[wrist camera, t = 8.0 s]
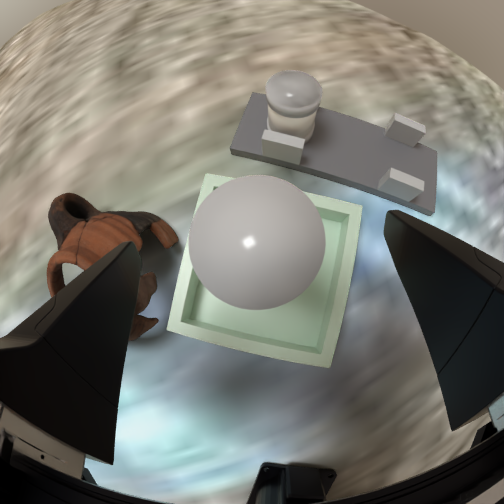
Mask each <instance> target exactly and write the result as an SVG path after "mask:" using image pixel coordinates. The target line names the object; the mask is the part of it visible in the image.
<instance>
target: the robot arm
mask: <svg viewBox="0 0 504 504" xmlns="http://www.w3.org/2000/svg"><path fill="white" fill-rule="evenodd" d="M384 237H385V240H386V243H387V245H388V248H389V251H390V253H391V256H392V259H393V262H394V265H395V267H396V270H397V272H398V275H399V277H400V279H401V281H402V284H403V286H404V288H405V290H406V293H407V295H408V297H409V300H410V302H411V304H412V307H413V309H414V312H415V314H416V317H417V319H418V322H419V324H420V327H421V329H422V332H423V335H424V338H425V340H426V343H427V346H428V349H429V352H430V355H431V358H432V361H433V364H434V367H435V370H436V373H437V377H438V380H439V384H440V387H441V391H442V394H443V398H444V402H445V406H446V410H447V414H448V418H449V423H450V427H451V430H452V431H455V430H457V429H459V428H461V427H462V426H464V425H466V424H468V423H470V422H472V421H474V420H475V419H477V418H479V417H481V416H482V415H484V414H486V413H488V412H489V415H490V418H491V422H489V423H487V424H486V425H484V426H483V427H481V428H480V429H478V430H477V433H476V436H475V438H474V441H473V443H472V446H471V448H470V450H468V451H466V452H464V453H463V454H461V455H459V456H457V457H455V458H453V459H451V460H449V461H447V462H445V463H443V464H441V465H439V466H437V467H435V468H432V469H430V470H428V471H426V472H423V473H421V474H418V475H416V476H413V477H411V478H408V479H406V480H403V481H400V482H397V483H394V484H392V485H389V486H385V487H382V488H379V489H376V490H372V491H369V492H365V493H361V494H358V495H353V496H349V497H345V498H340V499H335V500H330V501H326V495H327V493H328V491H329V489H330V487H331V485H332V484H333V482H334V480H335V478H336V475H337V474H336V472H335V470H330V469H317V468H306V467H296V466H285V465H278V464H271V463H263V464H262V465H261V466H260V469H259V472H258V475H257V477H256V480H255V483H254V485H253V488H252V491H251V493H250V496H249V498H248V501H247V503H246V504H504V263H503V262H501V261H499V260H498V259H496V258H494V257H492V256H490V255H488V254H486V253H485V252H483V251H481V250H479V249H477V248H475V247H473V246H472V245H470V244H468V243H466V242H464V241H462V240H460V239H458V238H456V237H455V236H453V235H451V234H449V233H447V232H445V231H443V230H441V229H439V228H436V227H434V226H432V225H430V224H428V223H426V222H424V221H422V220H420V219H417V218H415V217H413V216H411V215H409V214H406V213H404V212H402V211H399V210H389V211H388V212H387V214H386V219H385V226H384ZM141 268H142V260H141V257H140V255H139V253H138V250H137V248H136V245H135V243H134V242H133V241H126V242H122V243H121V244H119V245H118V246H116V247H115V248H114V249H112V250H111V251H110V252H108V253H107V254H106V255H104V256H103V257H102V258H100V259H99V260H98V261H96V262H95V263H94V264H93V265H91V266H90V267H89V268H87V269H86V270H85V271H84V272H82V273H81V274H80V275H79V276H77V277H76V278H75V279H74V280H72V281H71V282H70V283H69V284H67V285H66V286H65V287H64V288H63V289H61V290H60V291H59V292H58V293H57V295H54V296H53V297H52V298H51V299H50V300H48V301H47V302H46V303H45V304H44V305H42V306H41V307H40V308H39V309H38V310H36V311H35V312H34V313H33V314H32V315H30V316H29V317H28V318H27V319H25V320H24V321H23V322H22V323H21V324H19V325H18V326H17V327H16V328H15V329H13V330H12V331H11V332H10V333H9V334H7V335H6V336H4V337H2V338H0V504H173V503H167V502H161V501H155V500H150V499H145V498H141V497H137V496H132V495H128V494H125V493H121V492H117V491H114V490H110V489H107V488H104V487H101V486H98V485H97V483H96V482H95V480H94V478H93V477H92V475H91V474H90V472H89V470H88V469H87V468H85V467H84V465H85V459H86V458H89V459H92V460H95V461H99V462H102V463H106V464H110V465H113V462H114V447H115V434H116V423H117V413H118V409H117V408H118V403H119V396H120V388H121V381H122V375H123V368H124V362H125V357H126V351H127V346H128V340H129V335H130V330H131V325H132V321H133V316H134V312H135V307H136V302H137V297H138V290H139V282H140V275H141ZM264 468H269V469H264ZM330 474H332V475H330ZM328 475H330V476H328Z"/></svg>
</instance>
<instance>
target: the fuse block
mask: <svg viewBox="0 0 504 504" xmlns="http://www.w3.org/2000/svg"><path fill="white" fill-rule="evenodd" d="M267 118H268V103H267V100H266V95H265V94H260V93H254V92H253V93H252V95H251V97H250V100H249V102H248V104H247V107H246V109H245V111H244V114H243V116H242V119H241V121H240V124H239V126H238V129H237V131H236V134H235V136H234V139H233V141H232V144H231V146H230V151H231V154H233V155H238V156H242V157H246V158H251V159H255V160H259V161H263V162H267V163H271V164H275V165H279V166H283V167H287V168H291V169H294V170H298V171H301V172H305V173H308V174H312V175H315V176H319V177H322V178H325V179H329V180H332V181H335V182H338V183H341V184H344V185H347V186H351V187H354V188H357V189H360V190H362V191H365V192H368V193H371V194H374V195H377V196H379V197H382V198H385V199H388V200H390V201H393V202H396V203H398V204H401V205H403V206H406V207H409V208H411V209H414V210H416V211H419V212H421V213H423V214H426V215H428V216H429V215H431V214H433V213H435V202H436V185H437V151H435V150H433V149H431V148H429V147H427V146H424V145H422V144H420V143H418V141H419V140H420V139H421V138H422V137H423V136H424V135H425V134H426V133H425V126H424V125H422V124H420V123H418V122H416V121H413V120H411V119H409V118H407V117H404V116H402V115H400V114H397V113H394V115H393V116H392V118H391V120H390V121H389V123H388V124H387V126H386V127H385V129H384V128H382V127H379V126H377V125H374V124H371V123H368V122H365V121H363V120H360V119H357V118H354V117H351V116H348V115H344V114H341V113H338V112H335V111H331V110H328V109H324V108H321V107H319V108H318V109H317V112H316V117H315V121H314V122H315V127H314V131H313V135H312V138H311V139H310V141H309V142H308V143H306V144H305V145H304V143H305V139H302V138H299V137H295V136H291V135H287V134H283V133H279V132H274V131H270V130H267Z"/></svg>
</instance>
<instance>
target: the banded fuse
mask: <svg viewBox="0 0 504 504" xmlns="http://www.w3.org/2000/svg"><path fill="white" fill-rule="evenodd" d="M188 246H189V255H190V260H191V263H192V266H193V269H194V271H195V273H196V275H197V277H198V278H199V280H200V281H201V283H202V284H203V285H204V286H205V287H206V289H207V290H208V291H209V292H210V293H212V294H213V295H214V296H215V297H217V298H218V299H220V300H221V301H223V302H225V303H227V304H229V305H231V306H234V307H238V308H241V309H247V310H265V309H271V308H275V307H279V306H281V305H284V304H286V303H288V302H290V301H292V300H293V299H295V298H296V297H298V296H299V295H300V294H302V293H303V292H304V291H305V290H306V289H307V288H308V287H309V286H310V284H311V283H312V282H313V280H314V279H315V277H316V276H317V274H318V272H319V270H320V267H321V265H322V262H323V258H324V254H325V246H326V239H325V230H324V225H323V222H322V219H321V216H320V214H319V212H318V210H317V208H316V207H315V205H314V204H313V202H312V201H311V200H310V199H309V197H308V196H307V195H306V194H305V193H304V192H303V191H301V190H300V189H299V188H297V187H296V186H295V185H293V184H291V183H289V182H287V181H285V180H282V179H280V178H277V177H273V176H267V175H248V176H243V177H239V178H235V179H233V180H230V181H228V182H226V183H224V184H222V185H220V186H219V187H218V188H216V189H215V190H213V191H212V192H211V193H210V194H209V195H208V196H207V197H206V198H205V199H204V201H203V202H202V203H201V205H200V206H199V208H198V209H197V211H196V213H195V215H194V217H193V220H192V223H191V226H190V231H189V240H188Z"/></svg>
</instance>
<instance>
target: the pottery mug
mask: <svg viewBox="0 0 504 504" xmlns="http://www.w3.org/2000/svg"><path fill="white" fill-rule="evenodd" d="M48 218H49V223H50V225H51V228H52V230H53V232H54V234H55V236H56V239H57V244H58V250H59V251H58V252H56V253H55V254H54V255H53V256H52V257H51V258H50V260H49V263H48V267H47V283H48V288H49V291H50V295H51V297H53V296H54V295H57V293H58V292H59V291H60V290H61V289H63V288H64V287H65V284H64V278H63V273H62V264H63V263H71V264H74V265H78V266H79V267H80V268H82V269H83V270H84V271H85V270H86V269H87V268H89V267H90V266H91V265H93V264H94V263H95V262H96V261H98V260H99V259H100V258H102V257H103V256H104V255H106V254H107V253H108V252H110V251H111V250H112V249H114V248H115V247H116V246H118V245H119V244H121V243H122V242H126V241H133V242H134V243H135V245H136V248H137V250H138V252H139V251H140V249H141V247H142V243H143V242H142V239H141V237H140V236H139V234H141V233H142V232H143V231H144V230H145V229H150V230H151V231H152V232H153V233H154V234H155V235H156V237H157V238H158V239H159V241H160V242H161V243H162V245H163V246H164V248H166V249H168V248H170V247H172V246H173V245H174V244H175V243H176V242H178V237H177V236H176V234H175V232H174V231H173V230H172V228H171V227H170V226H169V225H168V224H167V223H166V222H164V221H163V220H162V219H161V218H159V217H158V216H156V215H154V214H151V213H148V212H142V211H138V212H126V211H116V212H115V211H108V212H103V213H102V212H100V211H99V210H97V209H96V208H94V207H93V206H92V204H90V203H89V202H88V201H87V200H85V199H84V198H82V197H81V196H79V195H76V194H73V193H65V194H62V195H60V196H58V197H56V198H55V199H54V200H53V202H52V204H51V207H50V210H49V213H48ZM156 289H157V281H156V276H155V274H154V273H153V272H149V273H146V274H144V275H142V276H141V275H140V282H139V290H138V297H137V302H136V307H135V312H134V316H133V321H132V325H131V330H130V335H129V340H128V341H132V340H135V339H137V338H138V337H140V336H141V335H142V334H144V333H145V332H146V331H148V330H149V329H151V328H152V327H153V326H154V325H155V324H157V323H158V321H159V320H158V319H157V318H146V317H144V316H141V315H138V314H139V313H140V312H142V311H144V310H145V308H146V307H147V306H148V304H149V302H150V299H151V296H152V295H153V294H154V292H155V291H156Z"/></svg>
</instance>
